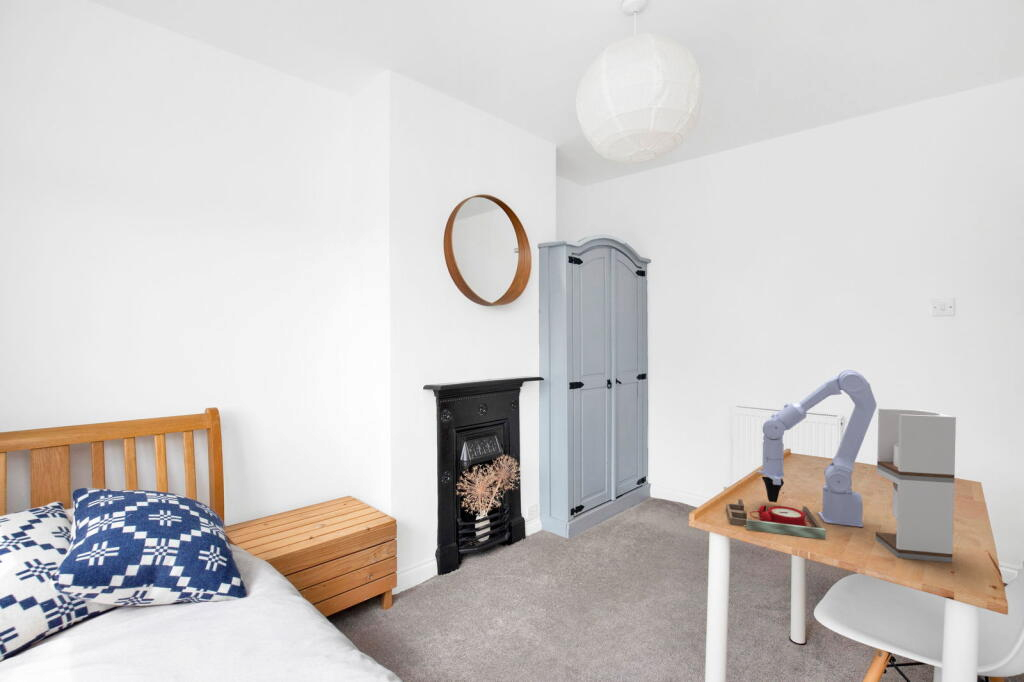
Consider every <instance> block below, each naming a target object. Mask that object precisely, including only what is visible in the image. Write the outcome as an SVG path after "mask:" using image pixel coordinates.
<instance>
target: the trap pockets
mask: <svg viewBox="0 0 1024 682" xmlns="http://www.w3.org/2000/svg"><path fill="white" fill-rule="evenodd" d="M725 505H726V506H725V510H726V514H727V517H729V518H728V522H729V521H730V522H729V524H730V525H733V524H735V525H734V526H741V525H746V519H743V511H741V510H740V508H741V505H738V503H737V504H735V503H728V502H727V503H725Z"/></svg>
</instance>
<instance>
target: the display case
mask: <svg viewBox="0 0 1024 682" xmlns="http://www.w3.org/2000/svg"><path fill="white" fill-rule="evenodd" d="M877 409H878V412H877V413H878V416H877V417H878V418H877V419H878V421H877V458H876V459H877V462H876V474H878V475H880V476H881V477H883V478H885V479H887V480H888V481H891V482H892V506H891V507H892V510H891V511H892V515H893V517H894V518H895V520H896V533H891V532H890V533H889V532H879V531H878V532H875V541H876V540H877V541H876V542H877V543H879V544H880V543H881V544H880V545H882V546H883V547H884V548H885V549H886V550H887V551H889V552H890V553H892V554H893V555H895V557H896V558H899V559H909V560H919V561H920V560H921V561H933V562H942V563H943V562H944V563H953V558H954V557H953V555H954V554H953V553H954V551H953V550H954V518H955V517H954V513H955V512H954V511H955V510H954V509H955V470H956V469H955V467H956V466H955V465H956V430H957V429H956V428H957V426H956V425H957V421H956V420H957V417H956V416H953V415H948V414H945V413H941V412H937V411H932V410H926V409H902V408H899V409H897V408H877Z"/></svg>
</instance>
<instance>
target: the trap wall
mask: <svg viewBox="0 0 1024 682" xmlns="http://www.w3.org/2000/svg"><path fill="white" fill-rule="evenodd" d="M737 500H738V502H737V504H738V505H741V508H740V510H741V511H743V519H746V526H745V529H746V528H747V529H751V530H750V531H755V530H756V531H755V532H763V531H764V532H765V533H772V534H780V535H787V536H797V537H804V538H811V539H818V540H826V532H827V531H826V529H825V528H823V527H822V526H821V524H819V522H818V520H817V519H816V518H815V516H814V515H813V514H812V512H811V511H810V510H809V508H808V506H805V505H802V512H803V513H804V514H805V519H807V521H810V522H813V524H812V523H810V522H809V524H810V525H811V526H807V527H806V526H798V525H790V524H782V523H773V522H765V521H761V520H757V519H756V520H754V519H748V513H747V511H746V510H745V503H744V502H743V500H742V499H741V498H738V499H737ZM806 513H807V515H806ZM747 529H746V530H747Z"/></svg>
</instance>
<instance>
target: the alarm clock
mask: <svg viewBox="0 0 1024 682" xmlns="http://www.w3.org/2000/svg"><path fill="white" fill-rule="evenodd" d="M758 509H759V510H756V511H755V510H754V511H749V515H750V516H751V518H755V519H760V521H765V522H773V523H782V524H790V525H798V526H806V527H808V525H807V523H809V524H810V523H812V524H813V522H810V521H808V520H806V516H805V514H804V513H803V510H800V509H797V508H794V507H789V506H781V505H772V506H769V507H768V508H767V506H766V505H764V504H763V505H760V506H759V508H758ZM752 513H758V516H754V515H752ZM806 515H807V513H806Z"/></svg>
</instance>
